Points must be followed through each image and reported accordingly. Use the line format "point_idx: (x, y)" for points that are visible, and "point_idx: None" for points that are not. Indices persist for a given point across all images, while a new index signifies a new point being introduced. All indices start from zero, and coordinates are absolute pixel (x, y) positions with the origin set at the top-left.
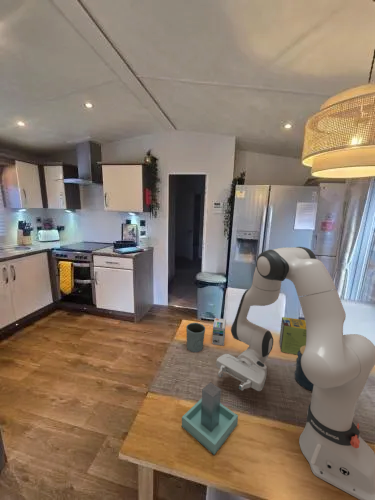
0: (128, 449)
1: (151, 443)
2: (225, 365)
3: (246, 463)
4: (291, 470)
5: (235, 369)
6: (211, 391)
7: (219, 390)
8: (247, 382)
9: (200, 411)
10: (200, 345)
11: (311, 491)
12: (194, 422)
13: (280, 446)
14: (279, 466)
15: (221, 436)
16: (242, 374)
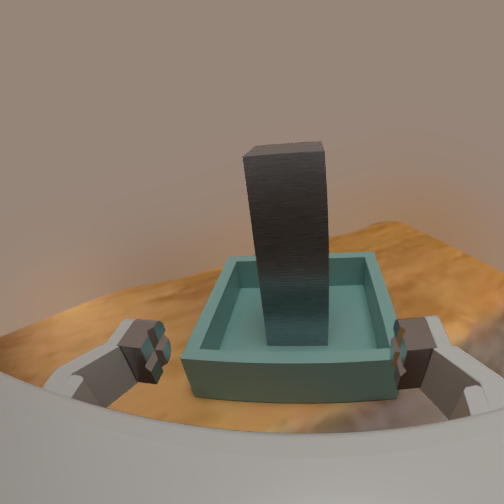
0: (396, 222)
1: (380, 240)
2: (479, 415)
3: (143, 317)
4: (34, 350)
5: (275, 450)
6: (278, 146)
7: (246, 154)
8: (77, 366)
9: (367, 336)
10: None
11: (14, 334)
12: (346, 301)
13: None
14: (59, 346)
15: (219, 276)
16: (127, 414)
